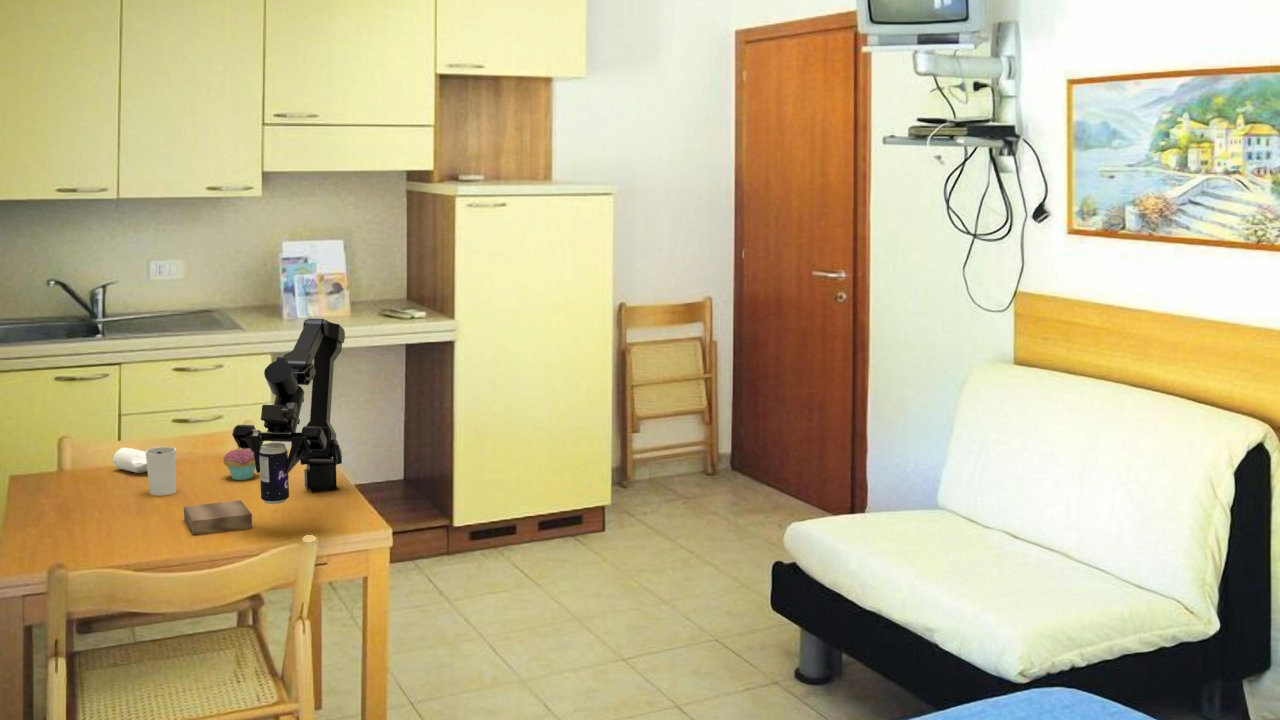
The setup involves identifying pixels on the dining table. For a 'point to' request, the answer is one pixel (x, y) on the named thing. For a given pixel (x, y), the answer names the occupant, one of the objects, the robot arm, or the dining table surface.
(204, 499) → the dining table surface
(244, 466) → the cupcake
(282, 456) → the beverage can
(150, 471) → the grey cylinder
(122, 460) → the roll
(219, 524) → the walnut base
